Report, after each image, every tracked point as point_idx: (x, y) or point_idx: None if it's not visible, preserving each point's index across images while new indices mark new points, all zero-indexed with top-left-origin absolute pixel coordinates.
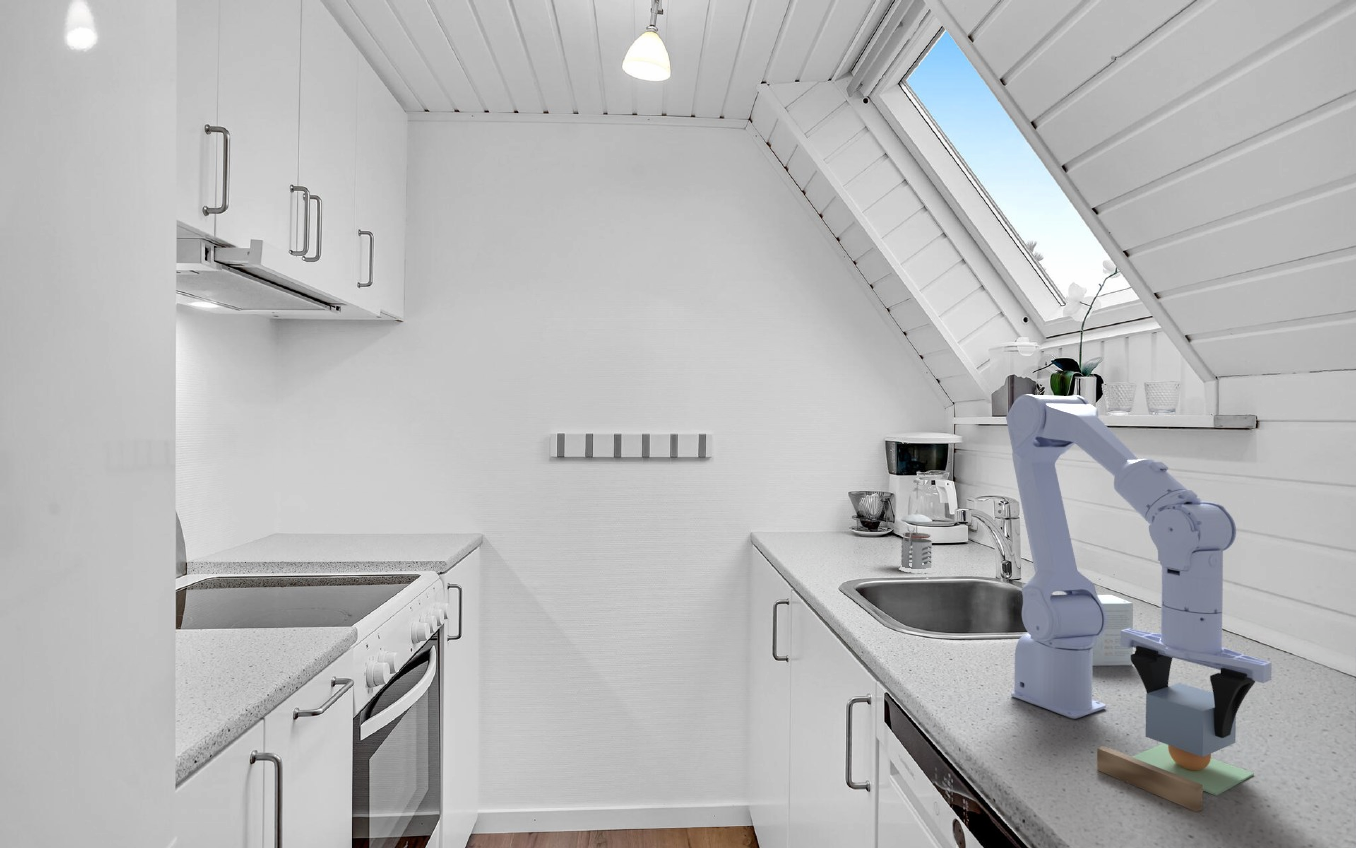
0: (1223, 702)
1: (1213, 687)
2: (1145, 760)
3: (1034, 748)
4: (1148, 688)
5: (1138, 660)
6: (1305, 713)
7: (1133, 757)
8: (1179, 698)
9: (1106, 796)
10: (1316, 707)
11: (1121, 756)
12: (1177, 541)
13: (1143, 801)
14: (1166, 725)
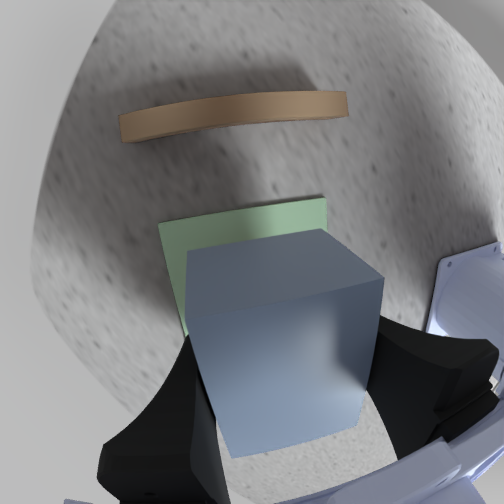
0: (163, 401)
1: (186, 430)
2: (306, 226)
3: (416, 87)
4: (396, 328)
5: (479, 351)
6: (278, 492)
7: (324, 215)
8: (304, 350)
9: (245, 18)
10: (280, 501)
11: (296, 97)
12: None
13: (201, 60)
14: (287, 253)
